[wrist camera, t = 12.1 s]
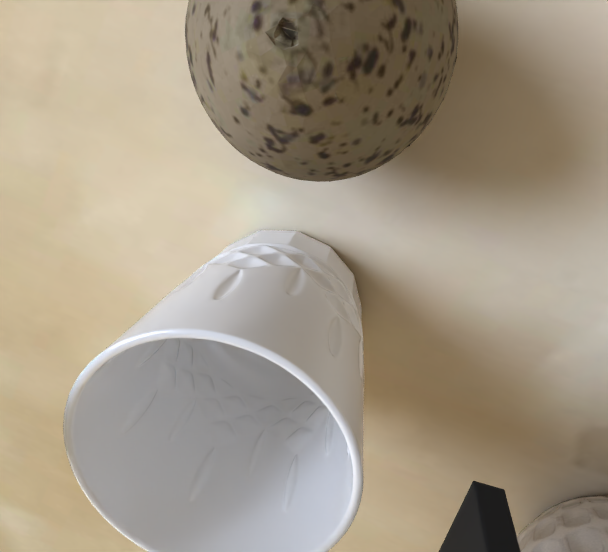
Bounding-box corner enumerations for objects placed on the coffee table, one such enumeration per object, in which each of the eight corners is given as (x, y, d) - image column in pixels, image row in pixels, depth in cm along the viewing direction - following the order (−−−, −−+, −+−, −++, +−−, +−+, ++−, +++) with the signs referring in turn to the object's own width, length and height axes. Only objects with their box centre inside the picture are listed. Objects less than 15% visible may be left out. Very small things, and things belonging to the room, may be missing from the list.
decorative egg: (399, -112, 16) (410, -344, 7) (469, 107, 18) (549, 149, 9) (205, -3, 18) (19, -74, 9) (288, 183, 20) (204, 279, 11)
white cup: (170, 234, 22) (12, 356, 13) (352, 195, 20) (319, 304, 11) (226, 390, 24) (127, 584, 15) (391, 368, 23) (391, 573, 13)
